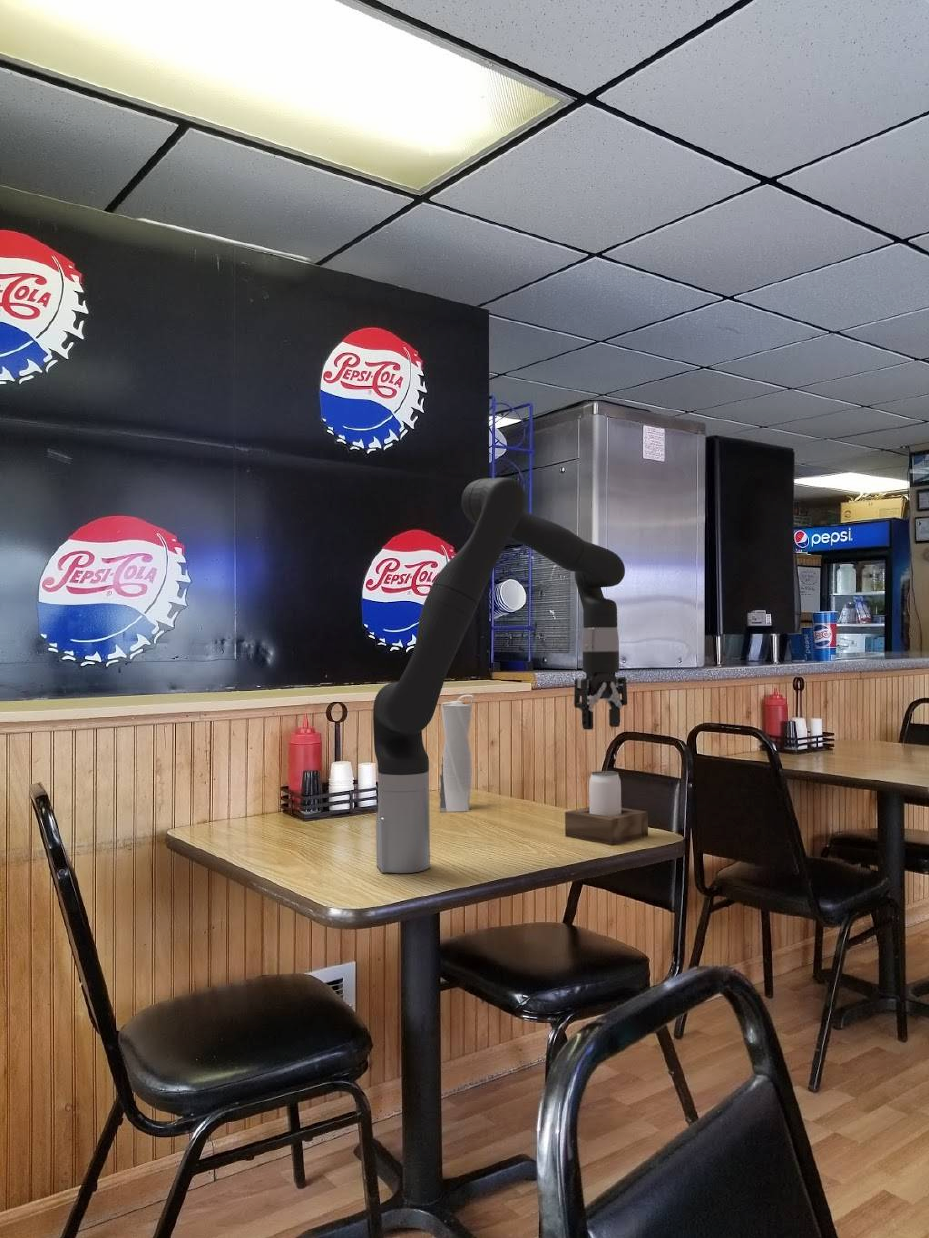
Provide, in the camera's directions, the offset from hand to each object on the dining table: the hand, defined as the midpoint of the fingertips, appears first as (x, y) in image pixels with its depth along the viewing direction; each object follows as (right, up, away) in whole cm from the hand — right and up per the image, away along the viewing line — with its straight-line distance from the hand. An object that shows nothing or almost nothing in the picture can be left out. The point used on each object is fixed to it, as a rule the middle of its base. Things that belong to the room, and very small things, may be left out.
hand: (601, 728), depth 193 cm
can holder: (+1, -22, -1) cm, 22 cm away
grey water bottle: (-30, -24, +31) cm, 50 cm away
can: (+1, -21, -1) cm, 21 cm away
